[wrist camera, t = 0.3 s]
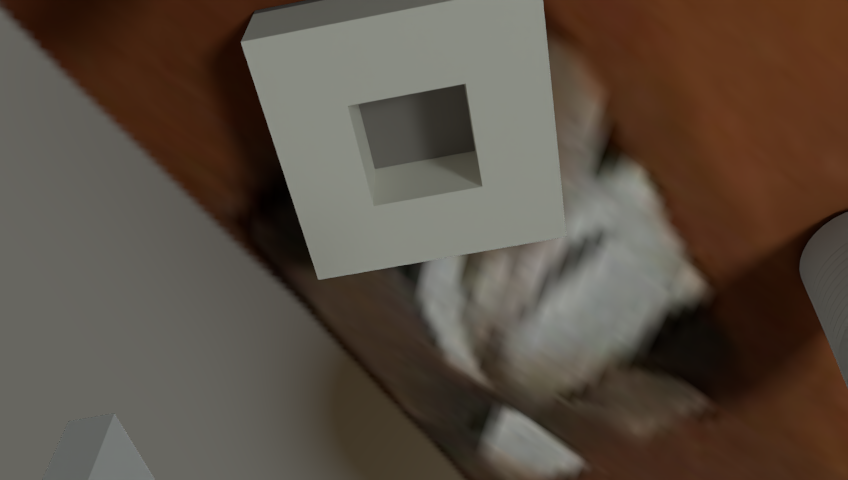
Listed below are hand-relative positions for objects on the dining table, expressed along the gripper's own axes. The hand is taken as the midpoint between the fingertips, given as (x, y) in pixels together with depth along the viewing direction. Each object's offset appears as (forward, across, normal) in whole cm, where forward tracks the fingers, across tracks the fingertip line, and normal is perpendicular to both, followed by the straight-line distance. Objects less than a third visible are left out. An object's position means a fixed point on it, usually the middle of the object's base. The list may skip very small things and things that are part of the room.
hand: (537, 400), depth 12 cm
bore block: (+26, -2, -6) cm, 26 cm away
